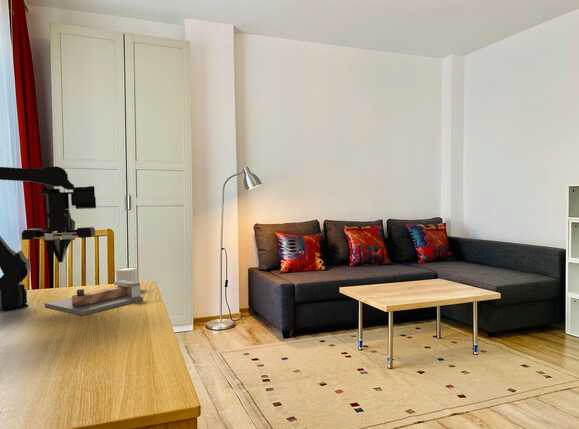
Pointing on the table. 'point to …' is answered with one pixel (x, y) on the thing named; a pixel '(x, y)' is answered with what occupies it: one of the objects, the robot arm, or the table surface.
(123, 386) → the table surface
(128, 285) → the keeper
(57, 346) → the table surface
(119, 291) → the link
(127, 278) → the white pedestal piece
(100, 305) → the board
